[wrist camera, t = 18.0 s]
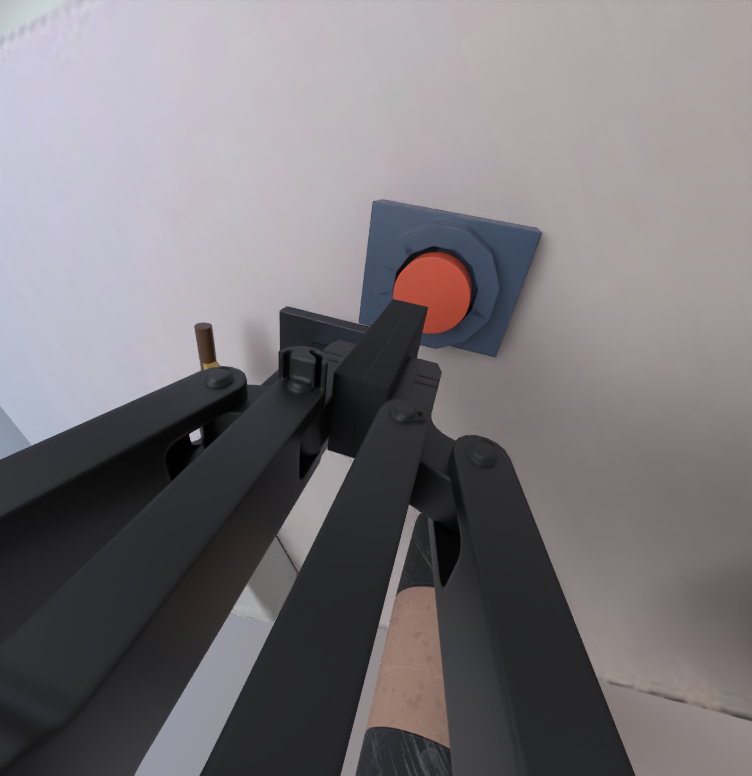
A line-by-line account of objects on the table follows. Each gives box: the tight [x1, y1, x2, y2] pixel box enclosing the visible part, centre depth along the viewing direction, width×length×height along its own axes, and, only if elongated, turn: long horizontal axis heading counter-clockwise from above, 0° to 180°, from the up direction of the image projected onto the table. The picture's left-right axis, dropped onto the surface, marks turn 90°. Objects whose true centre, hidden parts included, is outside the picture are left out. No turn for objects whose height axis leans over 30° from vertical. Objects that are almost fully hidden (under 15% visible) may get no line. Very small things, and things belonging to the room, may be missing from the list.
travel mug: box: [356, 513, 453, 776], centre depth 29 cm, size 8×8×20 cm
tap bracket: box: [261, 307, 370, 455], centre depth 25 cm, size 10×9×13 cm
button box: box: [359, 200, 542, 357], centre depth 22 cm, size 10×8×4 cm
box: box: [230, 537, 297, 623], centre depth 48 cm, size 23×8×32 cm
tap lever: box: [194, 323, 220, 371], centre depth 24 cm, size 13×7×2 cm
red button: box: [393, 252, 472, 334], centre depth 20 cm, size 4×4×2 cm
